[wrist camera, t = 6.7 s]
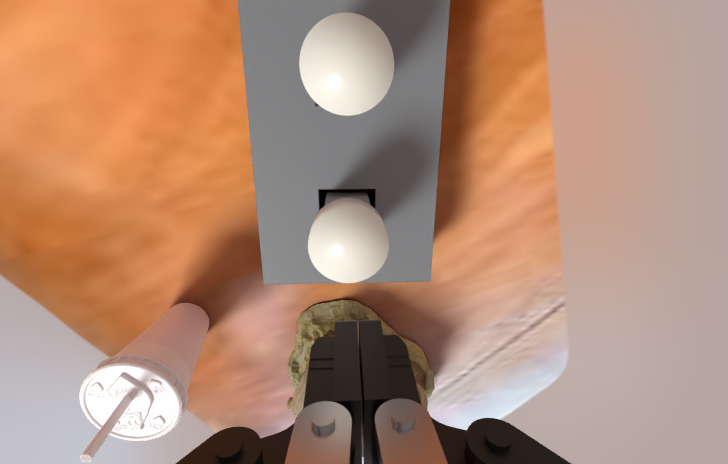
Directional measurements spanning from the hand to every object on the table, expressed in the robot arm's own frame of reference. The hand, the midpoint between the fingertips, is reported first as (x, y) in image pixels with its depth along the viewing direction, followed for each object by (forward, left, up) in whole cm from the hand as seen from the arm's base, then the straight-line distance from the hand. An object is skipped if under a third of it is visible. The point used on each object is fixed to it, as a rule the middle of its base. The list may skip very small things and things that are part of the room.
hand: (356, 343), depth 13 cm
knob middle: (-9, 0, -15) cm, 18 cm away
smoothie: (+11, -14, -19) cm, 26 cm away
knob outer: (0, 0, -15) cm, 15 cm away
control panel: (-9, 0, -19) cm, 21 cm away
